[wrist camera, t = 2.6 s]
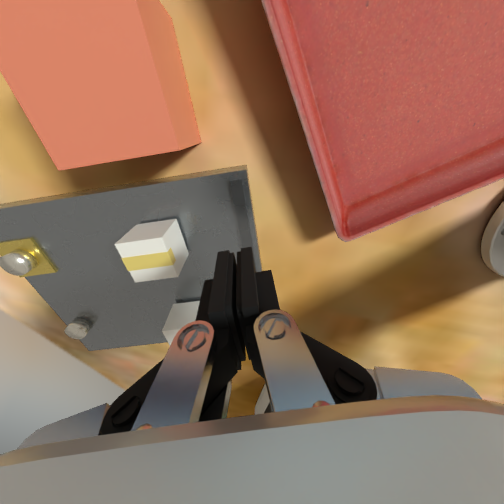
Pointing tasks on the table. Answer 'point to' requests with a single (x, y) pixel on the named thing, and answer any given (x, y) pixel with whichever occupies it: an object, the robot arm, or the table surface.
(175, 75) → the cap
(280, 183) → the table surface
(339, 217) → the plant saucer
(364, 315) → the table surface
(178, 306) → the toggle
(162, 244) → the toggle
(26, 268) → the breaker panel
